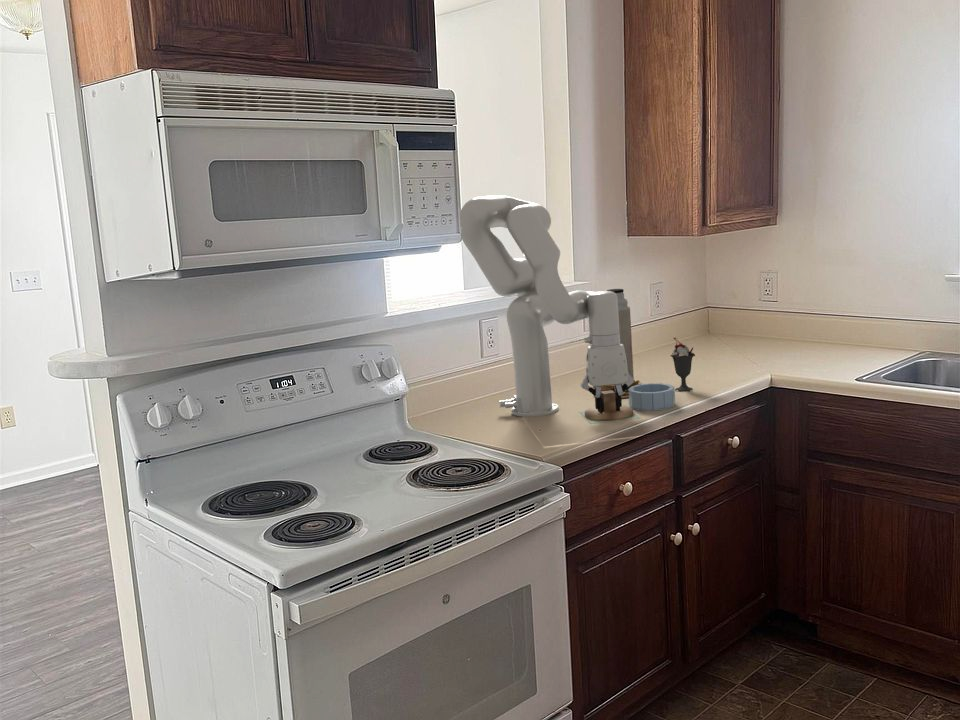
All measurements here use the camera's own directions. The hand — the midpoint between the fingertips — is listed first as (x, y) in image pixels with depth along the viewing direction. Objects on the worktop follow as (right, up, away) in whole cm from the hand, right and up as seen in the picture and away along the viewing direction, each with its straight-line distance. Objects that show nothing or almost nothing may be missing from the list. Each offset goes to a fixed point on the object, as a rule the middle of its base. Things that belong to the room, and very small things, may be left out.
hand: (608, 409), depth 227 cm
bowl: (+12, 0, +7) cm, 14 cm away
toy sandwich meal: (+6, +2, +23) cm, 24 cm away
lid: (0, -1, 0) cm, 1 cm away
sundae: (+24, +4, +23) cm, 34 cm away
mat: (0, -2, 0) cm, 2 cm away
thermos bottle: (+9, +6, +40) cm, 41 cm away
